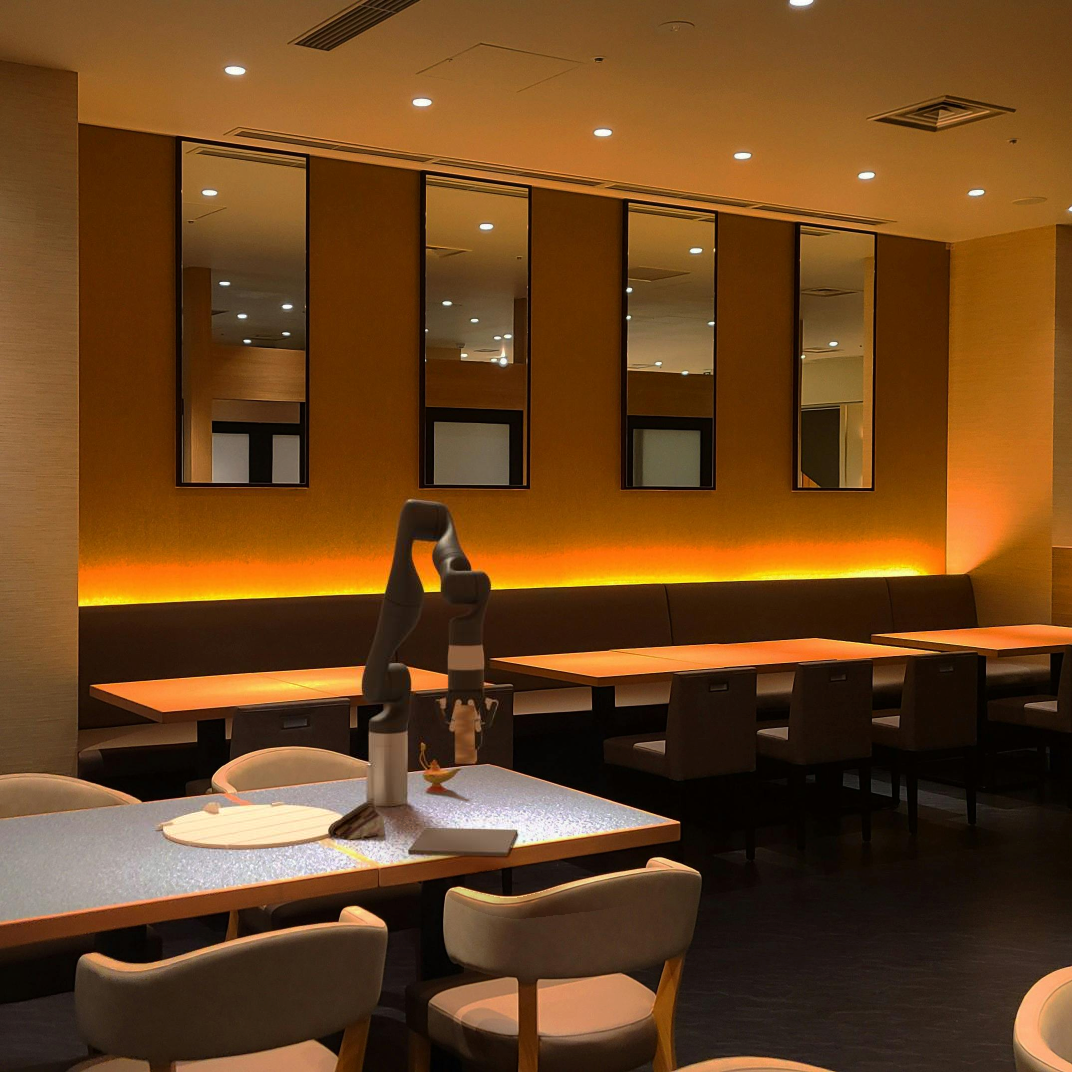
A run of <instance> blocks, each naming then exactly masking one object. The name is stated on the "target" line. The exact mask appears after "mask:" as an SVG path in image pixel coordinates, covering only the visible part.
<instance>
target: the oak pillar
mask: <svg viewBox="0 0 1072 1072" xmlns="http://www.w3.org/2000/svg"><path fill="white" fill-rule="evenodd" d="M474 716H475V715H474V705H455V749H454V754H455V755H454V764H476V762H477V760H478V750H475V731H476V729H475V721H474Z"/></svg>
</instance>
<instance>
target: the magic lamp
mask: <svg viewBox="0 0 1072 1072" xmlns="http://www.w3.org/2000/svg"><path fill="white" fill-rule="evenodd" d="M426 747H427V746H426V744H425V743H423V742H421V744H420V750H421V753H420V755H419V763H420V764H421V765H422V767H423V768H424V770H425V771H423V773H422V778H423V779H424V780H425V781H426V782H428V783H430V784H431V785H430V786H429V787H428V788H426V791H428V792H432V793H434V792H435V793H436V792H437V793H438V792H445V791H447V788H445V787H444V786H443V785H442V783H445V782H448V781H450V780H451V779H453V778H454V777H455V776H456V775H457V773H459V771H462V770H463V768H455V769H451V770H449V771H448V770H444V769H442V768H441V767H440V765H438V763H437V760H436V759H433V760H432V762H430V765H429V764H428V762H427V760H426V757H425V753H424V752H425V750H426ZM422 756H423V760H424V763H425V765H426V766H427V767H428V768H429V769H428V768H427V767H426V766H425V765H424V763H423V761H422Z"/></svg>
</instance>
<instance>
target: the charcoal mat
mask: <svg viewBox="0 0 1072 1072" xmlns="http://www.w3.org/2000/svg"><path fill="white" fill-rule="evenodd" d="M517 836H518V829H505V828H504V829H503V828H502V829H500V828H498V829H497V828H462V827H461V828H459V827H458V828H457V827H455V828H453V827H452V828H451V827H425V828H424V829H423V830H422V831H421V833H419V836H418V837H417V838H416V839H415V841H414V842H413V843H412V844H411V846H410V847H409V848H408V850H407V852H408V853H407V854H408V855H434V856H439V855H440V856H468V857H469V856H470V857H471V856H473V857H474V856H475V857H508V855H509V852H510V850H511V849H512V847H511V846H513V844H514V843H515V842H514V841H515V840H516V837H517Z"/></svg>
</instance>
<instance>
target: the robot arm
mask: <svg viewBox="0 0 1072 1072" xmlns="http://www.w3.org/2000/svg"><path fill="white" fill-rule="evenodd" d="M454 523H455V522H454V520H453V517H452V514H451V511H450V510H449V508H448V507H447V505H446V504H444V503H442V502H437V501H431V500H422V499H407V500H406V501H405V502H404V504H403V505H402V508H401V511H400V513H399V519H398V524H397V525H398V526H397V532H396V538H395V545H394V552H393V558H392V562H391V563H392V564H391V567H390V572H389V575H388V578H387V579H388V580H387V584H386V587H385V591H384V594H383V595H384V596H383V599H382V603H381V608H380V609H381V610H380V613H379V618H378V623H377V628H376V632H375V635H374V639H373V642H372V645H371V647H370V648H371V649H370V652H369V655H368V657H367V660H366V663H365V666H364V668H363V672H362V674H363V675H362V678H361V693H362V697H363V698H364V701H366V702H367V703H369V704H386V706H385V708H384V709H383V710H382V711H381V712H380V713H378V714H377V715H374V716H372V717H371V718H370V719H369V722H368V763H367V764H366V802H367V801H368V800H369V799H371V798H373V799H374V805H375V807H398V806H402V805H406V804H407V803H408V763H409V762H408V756H409V755H408V748H409V747H408V732H409V731H408V729H409V728H408V727H409V726H408V725H409V722H410V718H411V717H410V716H411V703H412V701H411V700H412V675H411V672H410V670H409V668H408V667H407V665H405V664H404V663H401V662H400V663H399V662H396V663H395V662H394V663H393V662H392V658H393V656H394V654H395V652H396V651H397V649H398V648H399V647H400V645H401V644H402V643H404V641H405V640H406V639H407V637H408V636H409V635H410V634H411V633H412V632H413V630H414V629H415V628H416V626H417V625H418V622H419V620H420V618H421V614H422V608H423V606H424V600H425V590H424V586H423V583H422V580H421V578H420V576H419V573H418V571H417V569H416V566H415V562H414V559H413V544H414V542H415V541H421V542H429V543H433V542H436V544H434V545H435V546H434V547H433V550H432V554H431V560H432V563H433V566H434V568H435V570H436V572H437V573H438V575H439V578H440V587H439V588H440V596H441V599H442V600H443V601H444V602H445V603H447V604H449V605H453V606H456V605H457V606H461V605H463V606H464V605H470V608H469V610H468V611H467V613H465V614H462V615H458V616H454V617H452V618H451V619H450V620H449V621H448V622H449V623H448V654H447V692H446V693H447V694H446V695H445V697H444V698H441V699H436V700H434V701H433V703H432V705H433V706H434V709H435V713H436V716H437V719H438V722H439V724H440V727H441V729H445V730H448V732H449V746H450V747H451V748H452V750H455V705H474V715H475V716H474V721H475V729H476V731H475V750H477V751H478V750H479V749H480V748H481V747H482V745H483V731H484V730H487V729H489V728H491V727H492V723H493V720H494V718H495V715H496V711H497V708H498V706H499V701H498V700H497V699H491V698H488V697H487V695H486V693H485V655H484V647H483V640H484V639H483V635H484V634H483V627H484V622H485V621H484V620H485V615H486V610H487V606H488V603H489V600H490V596H491V591H492V583H491V579H490V577H489V576H488V573H486V572H485V571H482V570H473V569H472V565H471V562H470V560H469V559H468V556H467V555H466V553H465V552H464V551H463V549H462V547H461V545H460V544H461V543H460V541H459V539H458V538H459V537H458V535H457V531H456V527H455V524H454ZM391 662H392V663H391ZM446 703H447V704H448V706H449V708H451V710H452V717H451V719H450V720H451V721H450V722H449V721H448V719H447V715H446V713H445V708H446ZM485 704H486V709H487V710H488V713H487V716H486V719H485V721H484V722H482V720H481V713H480V711H481V708H482V707H483V705H485Z"/></svg>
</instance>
